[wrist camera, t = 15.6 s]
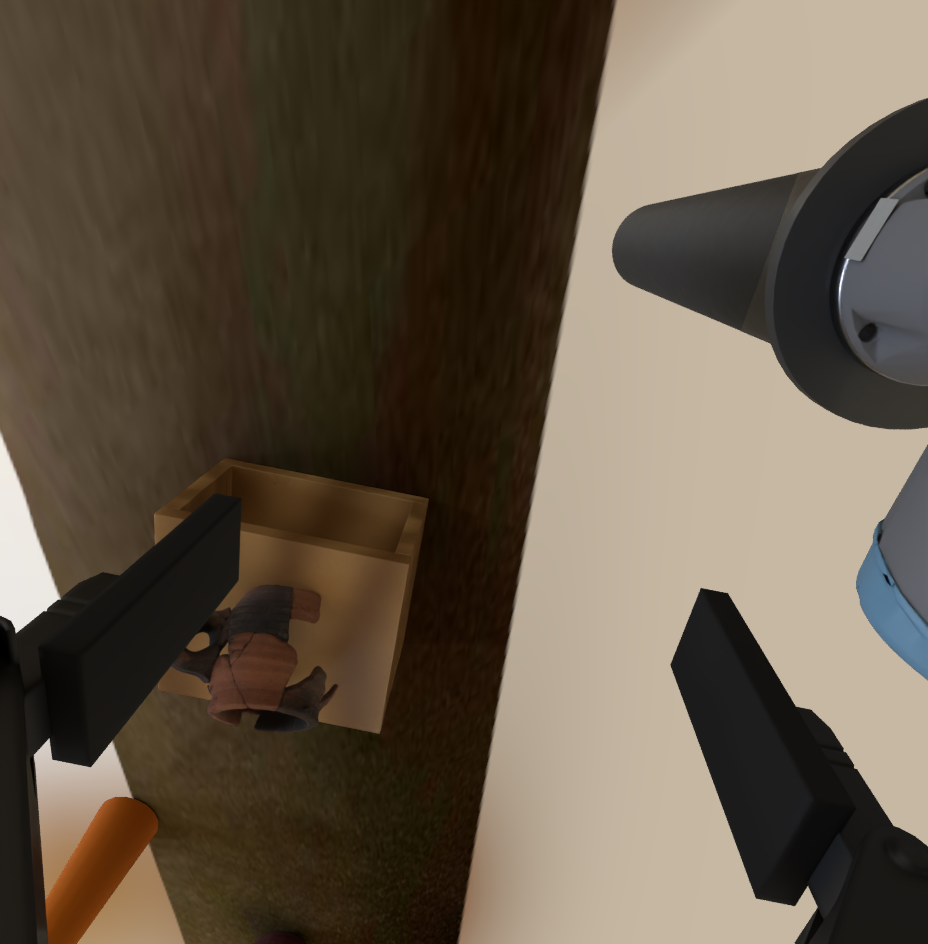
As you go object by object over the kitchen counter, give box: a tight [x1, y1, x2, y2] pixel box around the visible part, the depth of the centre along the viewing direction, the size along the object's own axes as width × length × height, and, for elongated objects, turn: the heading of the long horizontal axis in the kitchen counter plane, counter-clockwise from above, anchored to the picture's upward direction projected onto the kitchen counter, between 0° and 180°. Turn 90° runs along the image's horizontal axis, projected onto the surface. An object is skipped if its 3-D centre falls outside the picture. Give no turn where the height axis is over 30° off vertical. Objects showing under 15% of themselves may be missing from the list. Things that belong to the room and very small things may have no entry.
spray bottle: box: [45, 797, 158, 944], centre depth 56 cm, size 7×11×26 cm, turn 18°
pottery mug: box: [171, 585, 338, 732], centre depth 41 cm, size 12×10×8 cm
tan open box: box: [154, 458, 429, 733], centre depth 49 cm, size 18×16×11 cm
